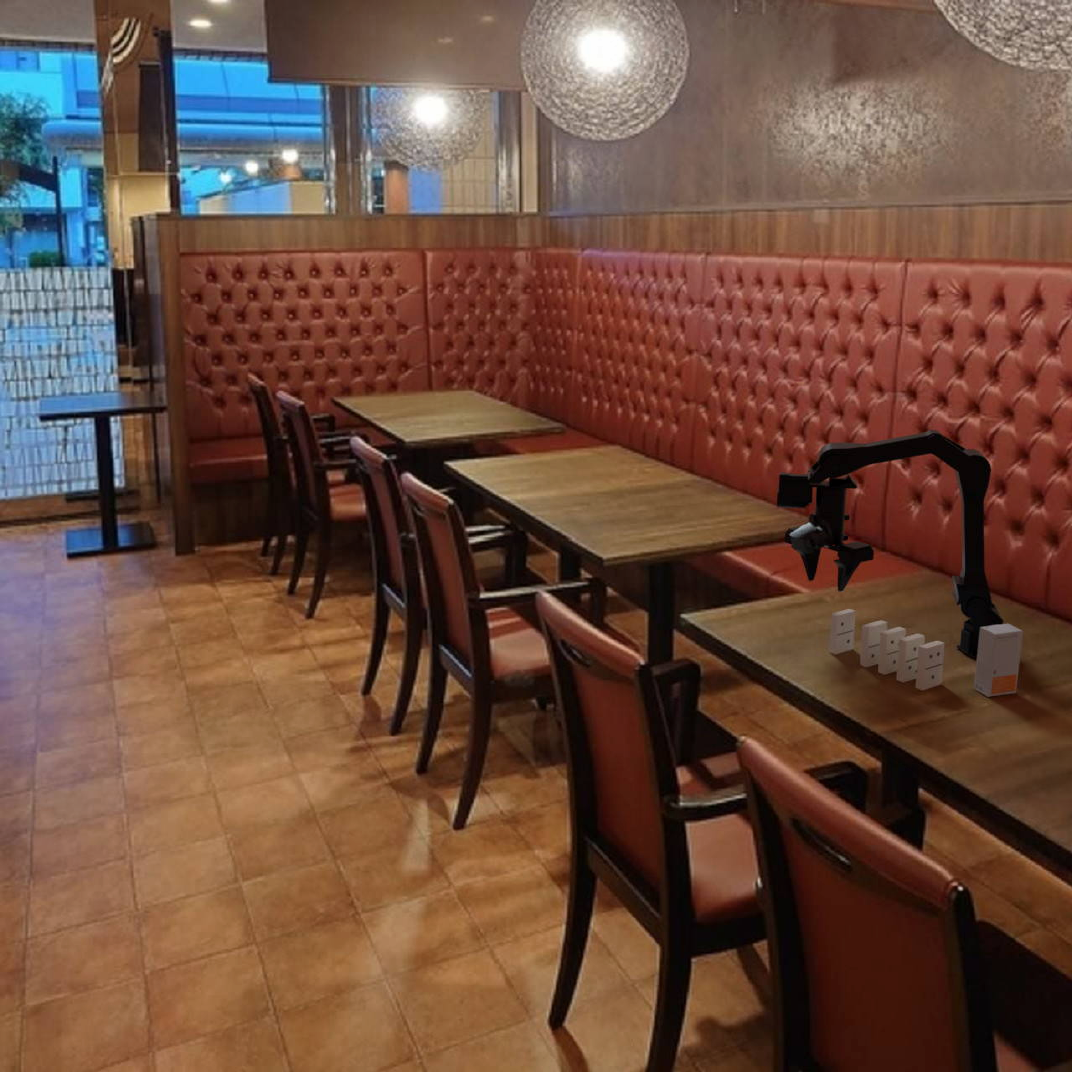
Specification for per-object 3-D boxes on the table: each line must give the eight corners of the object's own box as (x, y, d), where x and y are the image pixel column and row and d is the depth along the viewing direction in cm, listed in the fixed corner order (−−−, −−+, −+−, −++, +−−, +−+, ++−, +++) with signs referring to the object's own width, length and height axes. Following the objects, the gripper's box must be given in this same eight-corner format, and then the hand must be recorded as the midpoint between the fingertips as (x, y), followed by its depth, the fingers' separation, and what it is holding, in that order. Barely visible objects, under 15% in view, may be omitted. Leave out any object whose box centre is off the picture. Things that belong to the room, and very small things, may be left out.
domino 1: (829, 652, 222) (831, 613, 220) (847, 646, 225) (849, 608, 223) (835, 654, 221) (837, 616, 219) (853, 649, 223) (855, 611, 221)
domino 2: (860, 664, 216) (862, 625, 214) (878, 659, 218) (880, 620, 216) (866, 667, 214) (869, 627, 212) (885, 661, 217) (887, 622, 215)
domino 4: (896, 679, 208) (899, 638, 206) (914, 673, 211) (917, 633, 209) (903, 682, 207) (906, 641, 205) (922, 676, 210) (925, 636, 207)
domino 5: (915, 687, 205) (918, 646, 203) (934, 681, 207) (937, 640, 205) (923, 690, 203) (926, 648, 201) (941, 684, 206) (944, 643, 204)
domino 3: (877, 672, 212) (880, 632, 210) (896, 666, 215) (899, 626, 212) (884, 674, 211) (887, 634, 209) (903, 669, 213) (906, 629, 211)
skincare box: (988, 698, 200) (994, 634, 196) (973, 688, 204) (978, 626, 200) (1017, 693, 201) (1024, 630, 198) (1002, 684, 205) (1008, 622, 202)
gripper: (765, 505, 223) (762, 580, 227) (836, 525, 208) (831, 606, 212) (807, 497, 228) (803, 571, 233) (878, 517, 213) (872, 595, 217)
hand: (825, 585), depth 223 cm, fingers open, 8 cm apart
